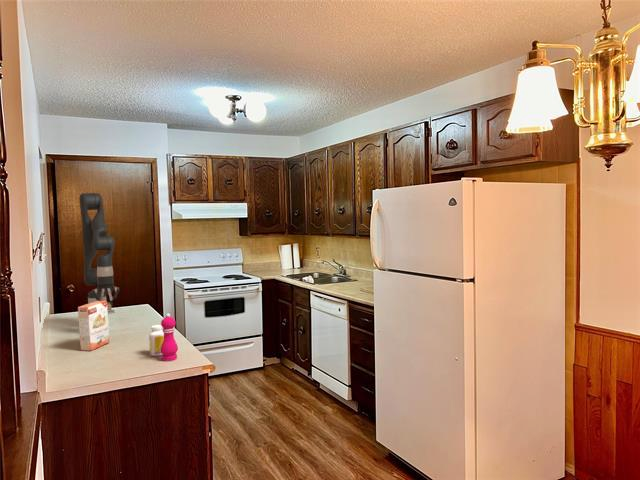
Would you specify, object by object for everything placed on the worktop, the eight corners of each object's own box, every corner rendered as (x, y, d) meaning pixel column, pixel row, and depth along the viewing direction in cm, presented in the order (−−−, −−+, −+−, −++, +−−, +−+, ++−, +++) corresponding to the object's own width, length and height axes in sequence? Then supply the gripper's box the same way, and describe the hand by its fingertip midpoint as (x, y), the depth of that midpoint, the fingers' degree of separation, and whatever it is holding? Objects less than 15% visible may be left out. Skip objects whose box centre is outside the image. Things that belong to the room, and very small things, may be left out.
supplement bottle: (168, 352, 216) (167, 324, 215) (159, 357, 209) (158, 328, 209) (156, 351, 218) (155, 323, 217) (146, 355, 212) (145, 327, 211)
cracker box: (91, 351, 220) (88, 306, 218) (80, 351, 221) (76, 306, 219) (110, 342, 233) (107, 300, 232) (99, 342, 235) (96, 300, 233)
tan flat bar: (101, 308, 248) (101, 302, 248) (111, 307, 251) (111, 301, 251) (103, 314, 233) (103, 308, 232) (114, 313, 235) (114, 307, 235)
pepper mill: (163, 356, 209) (161, 312, 208) (179, 356, 210) (178, 311, 209) (158, 362, 202) (157, 315, 201) (176, 361, 203) (174, 315, 202)
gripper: (119, 273, 252) (121, 305, 253) (90, 275, 246) (91, 307, 247) (120, 274, 245) (121, 307, 247) (90, 276, 239) (91, 310, 241)
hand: (106, 307), depth 247 cm, fingers closed on tan flat bar, 3 cm apart
